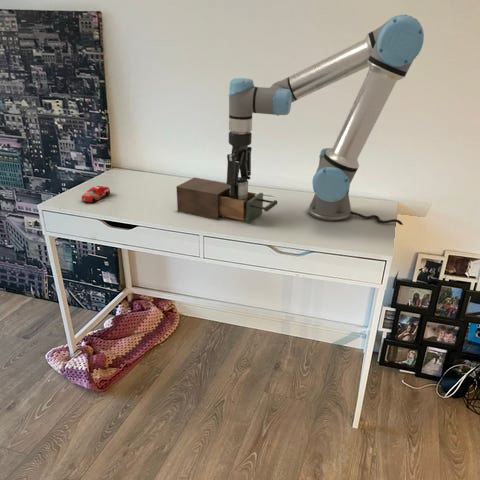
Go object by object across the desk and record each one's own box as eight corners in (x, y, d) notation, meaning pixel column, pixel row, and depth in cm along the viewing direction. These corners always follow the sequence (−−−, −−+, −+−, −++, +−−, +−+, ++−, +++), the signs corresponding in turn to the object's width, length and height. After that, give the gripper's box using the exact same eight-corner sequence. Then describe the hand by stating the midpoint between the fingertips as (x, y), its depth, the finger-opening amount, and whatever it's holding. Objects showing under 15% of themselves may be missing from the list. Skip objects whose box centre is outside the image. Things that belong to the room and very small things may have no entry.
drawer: (278, 216, 172) (279, 196, 168) (265, 227, 164) (266, 205, 160) (224, 205, 180) (224, 186, 176) (209, 215, 172) (209, 194, 168)
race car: (90, 204, 181) (88, 194, 178) (79, 202, 183) (77, 192, 180) (113, 194, 190) (111, 184, 188) (102, 192, 192) (100, 182, 190)
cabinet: (233, 209, 180) (234, 184, 175) (217, 220, 171) (217, 194, 166) (195, 201, 186) (194, 177, 181) (177, 211, 177) (176, 186, 172)
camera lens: (246, 197, 173) (246, 175, 169) (248, 203, 168) (249, 181, 164) (228, 198, 172) (229, 176, 168) (230, 204, 167) (231, 181, 163)
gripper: (243, 124, 166) (241, 190, 179) (215, 135, 151) (215, 206, 164) (262, 127, 163) (259, 194, 176) (237, 139, 149) (235, 210, 161)
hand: (238, 200), depth 170 cm, fingers closed on camera lens, 6 cm apart
